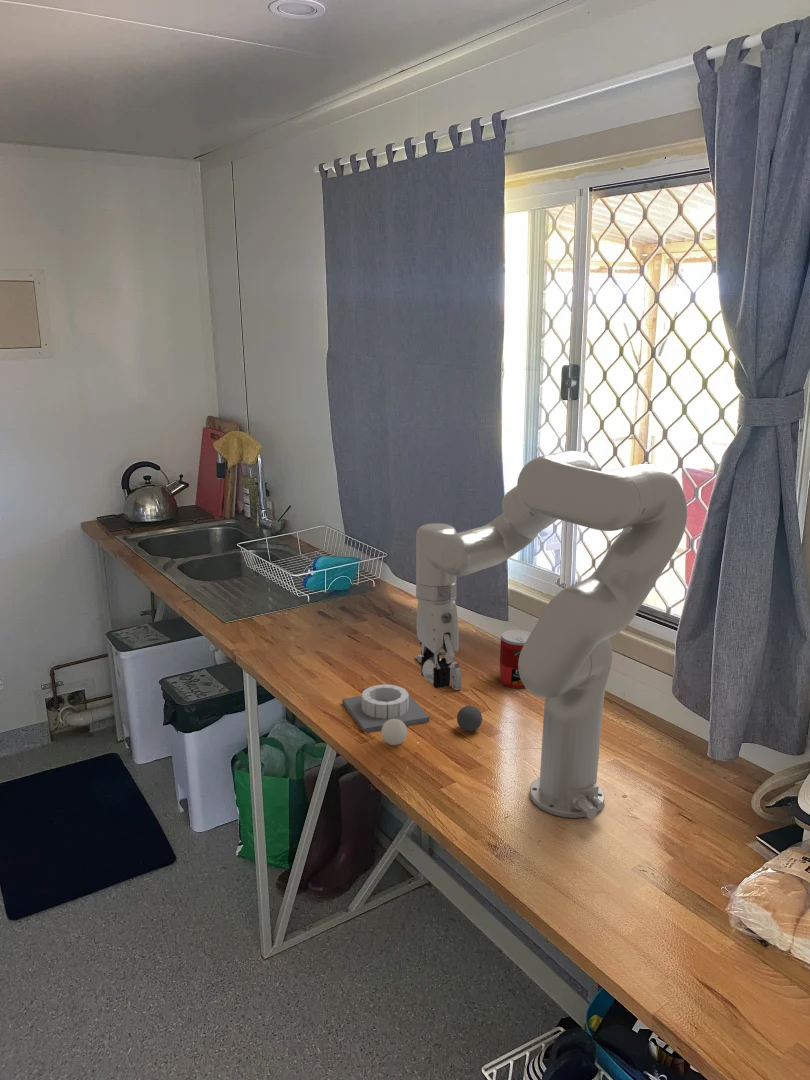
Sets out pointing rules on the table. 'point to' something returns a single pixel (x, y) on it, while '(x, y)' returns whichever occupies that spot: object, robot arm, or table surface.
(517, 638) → the canned food
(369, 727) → the housing
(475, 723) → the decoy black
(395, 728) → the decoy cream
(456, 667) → the caliper
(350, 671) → the table surface
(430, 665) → the steel ball
